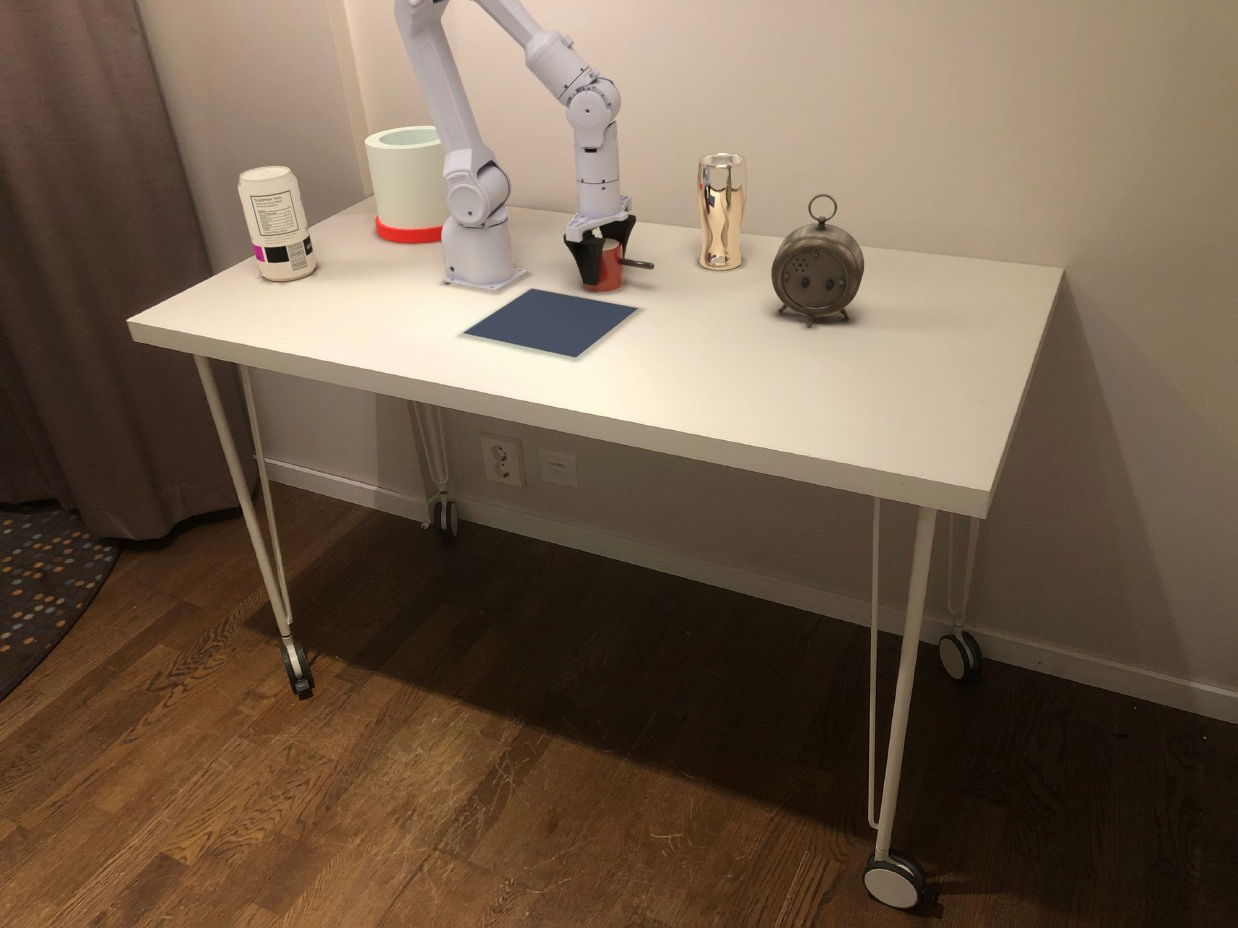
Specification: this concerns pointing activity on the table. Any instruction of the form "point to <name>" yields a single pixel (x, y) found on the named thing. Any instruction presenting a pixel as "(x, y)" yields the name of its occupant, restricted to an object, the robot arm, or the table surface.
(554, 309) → the cloth
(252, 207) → the supplement can
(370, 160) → the container
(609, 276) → the pot
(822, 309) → the alarm clock
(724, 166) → the beer glass
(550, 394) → the table surface
